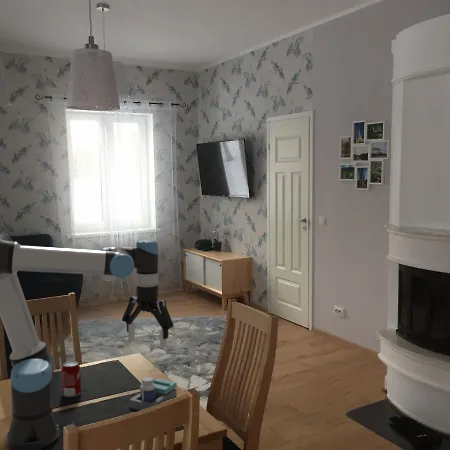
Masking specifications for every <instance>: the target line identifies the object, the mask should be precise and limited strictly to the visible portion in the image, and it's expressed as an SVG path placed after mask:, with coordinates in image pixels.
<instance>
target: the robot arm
mask: <svg viewBox="0 0 450 450" xmlns="http://www.w3.org/2000/svg"><path fill="white" fill-rule="evenodd" d="M135 269H136V279H135V281H136V290H135V291H136V293H135V294H136V295H133V296H130V297H129V299H128V304H127V306H126V309H125V311H124V314H123V315H122V318H121V321H122V322H125V323H126V332H127V334H128V335H127V336H128V340H127V341H128V343H130V344H131V343H133V342H135V341H136V339H135V338H136V337H135V336H136V335H135V334H136V333H135V331H136V330H135V329H136V326H135V325H136V323H135V322H134V321H135V320H136V318H137V317H138V316H139V315H140V313H141V312H146V313H150V314H151V315H153V317H154V318H155V320H156V321H157V323H158V324H159V325H160V328H161V329H160V330H159V332H160V336H159V337H160V338H159V339H160V340H159V341H160V347H159V348H160V349H162V350H163V349H164V348H166V347H167V346H168V344H167V339H169V330H170V329H172V328H174V326H175V325H174V323H173V320H172V317H171V315H170V313H169V310H168V308H167V301H166V299H162V300H159V299H158V297H159V285H158V284H159V243H158V242H157V241H156V240H153V239H141V240H137V241H136V244H135V246H109V247H102V248H101V250H95V249H80V248H79V249H78V248H63V247H62V248H61V247H47V246H35V245H33V246H31V245H21V244H20V243H19V242H17V241H13V240H12V238H11V237H10V236H9V235H8V234H7V233H4V232H2V231H0V318H1V322H2V323H3V327H4V330H5V332H6V336H7V338H8V341H9V344H10V346H11V350H12V352H11V353H10V355H9V360H10V363H11V366H12V368H11V371H10V376H9V379H10V380H9V381H10V387H11V390H10V391H11V392H10V393H11V415H12V418H11V421H10V425H9V430H8V432H7V434H6V444H7V447H8V448H9V449H11V450H40V449H44V448H46V446H47V447H48V445H49V446H50V444H51V443H52V444H54V443H55V442H56V441H57V440H58V439H59V437H60V428H59V424H58V422H57V419H56V416H55V415H54V411H53V378H54V372H55V361H54V359H53V358H54V357H53V356H52V355H51V353H50V352H49V351H48V348H47V347H48V346H47V344H46V343H45V342H44V341H41V340H40V338H39V336H38V333H37V330H36V326H35V325H34V321H33V317H32V315H31V313H30V310H29V306H28V303H27V301H26V298H25V294H24V292H23V289H22V287H21V283H20V279H19V277H18V274H17V273H18V272H19V271H20V272H39V273H59V274H81V275H83V274H84V275H85V274H86V275H99V276H100V275H101V276H102V275H103V276H104V275H105V276H114V277H115V278H119V279H125V278H129V276H131V275H132V274H133V272H134V270H135ZM136 304H137V306H136ZM135 306H136V307H135ZM134 308H135V309H134ZM167 348H168V347H167ZM58 436H59V437H58ZM57 438H58V439H57ZM56 439H57V440H56ZM55 440H56V441H55ZM54 441H55V442H54ZM53 442H54V443H53ZM52 444H51V445H52Z"/></svg>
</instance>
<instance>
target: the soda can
mask: <svg viewBox="0 0 450 450" xmlns="http://www.w3.org/2000/svg"><path fill="white" fill-rule="evenodd" d="M62 365H63V366H62V367H61V396H63V397H65V398H75V397H77V396H79V395H80V394H81V393H82V383H81V382H82V381H81V380H82V379H81V378H82V376H81V372H82V371H81V365H79V361H76V360H68V361H65V362H63V363H62Z"/></svg>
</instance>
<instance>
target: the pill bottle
mask: <svg viewBox="0 0 450 450" xmlns="http://www.w3.org/2000/svg"><path fill="white" fill-rule="evenodd" d="M154 380H155V379H154V377H152V376H145V377H143V378H142V380H141V385H140V386H139V388H140V389H139V390H140V398H141V401H145V402H149V403H152V402H153V401H155V400H156V386H155V384H153V383H154Z"/></svg>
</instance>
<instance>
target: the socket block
mask: <svg viewBox="0 0 450 450" xmlns="http://www.w3.org/2000/svg"><path fill="white" fill-rule="evenodd" d="M177 390H178V389H176V388H174V389H173V390H171V391H170V392H168V393H167V394H161V393H156V400H155V401H153V402H152V403H149V402H145V401H141V398H140V393H137V394H136V395H135V396H133V397H132V398H129V400H128V401H129V409H133V410H137V411H140V410H142V409H145V408H148V407H151V406H154V405H157V404H160V403H162V402H165V401H167V400H170V399H173V398H175V399H176V398H177V397H178V396H177V395H178V394H177V393H178V391H177ZM173 400H174V399H173Z"/></svg>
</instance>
